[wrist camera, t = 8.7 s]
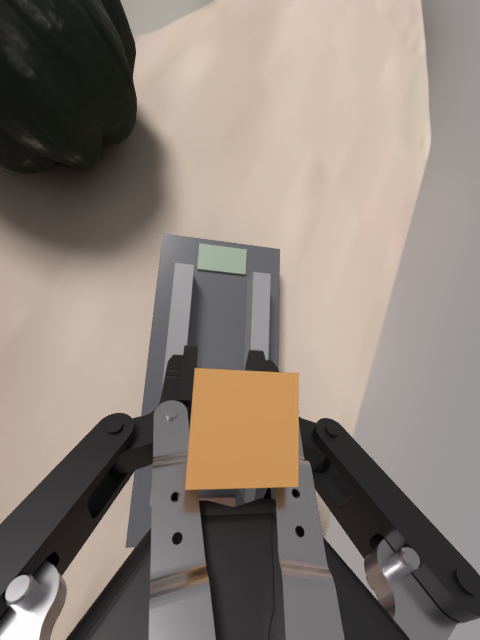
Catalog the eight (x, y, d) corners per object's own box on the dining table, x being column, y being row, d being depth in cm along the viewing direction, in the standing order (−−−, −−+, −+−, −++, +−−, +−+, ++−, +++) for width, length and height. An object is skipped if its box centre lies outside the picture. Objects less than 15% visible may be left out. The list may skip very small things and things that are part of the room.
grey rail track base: (264, 517, 19) (285, 560, 15) (134, 523, 17) (115, 573, 13) (270, 262, 23) (288, 236, 19) (166, 248, 21) (159, 218, 17)
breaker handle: (237, 418, 17) (305, 486, 7) (185, 417, 17) (176, 489, 6) (240, 372, 18) (304, 373, 8) (189, 369, 17) (187, 367, 7)
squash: (132, -45, 20) (-354, -707, 7) (205, 126, 19) (-200, -254, 6) (47, 98, 26) (-281, -90, 13) (97, 229, 25) (-205, 170, 12)
